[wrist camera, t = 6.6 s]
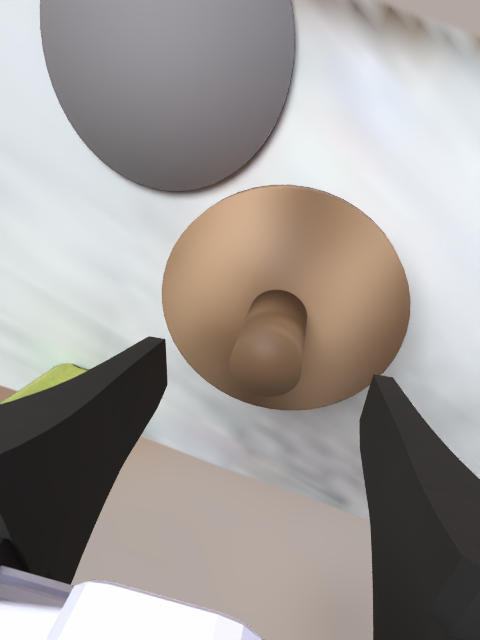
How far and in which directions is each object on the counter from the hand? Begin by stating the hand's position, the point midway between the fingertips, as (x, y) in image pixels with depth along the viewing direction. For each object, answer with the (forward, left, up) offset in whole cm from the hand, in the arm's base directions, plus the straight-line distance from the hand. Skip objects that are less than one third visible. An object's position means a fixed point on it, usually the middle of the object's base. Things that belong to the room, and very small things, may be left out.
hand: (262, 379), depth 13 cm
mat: (+7, -10, -10) cm, 16 cm away
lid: (0, 0, -5) cm, 5 cm away
